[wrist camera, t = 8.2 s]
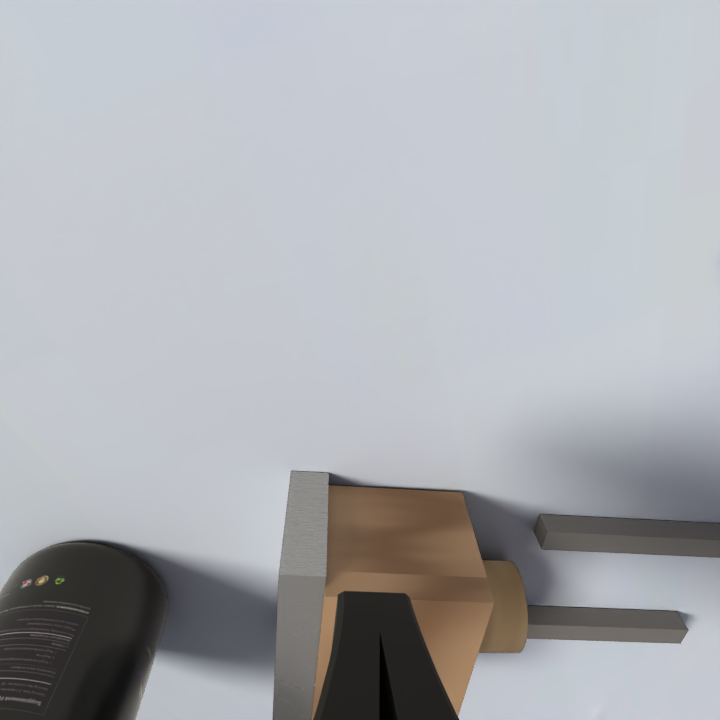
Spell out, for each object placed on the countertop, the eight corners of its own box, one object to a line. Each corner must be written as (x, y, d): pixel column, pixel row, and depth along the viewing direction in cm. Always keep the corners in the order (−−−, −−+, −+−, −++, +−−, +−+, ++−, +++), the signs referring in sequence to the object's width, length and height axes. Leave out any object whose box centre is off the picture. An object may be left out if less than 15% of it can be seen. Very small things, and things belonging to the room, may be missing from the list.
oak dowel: (512, 544, 24) (535, 627, 21) (494, 587, 26) (512, 668, 23) (351, 541, 23) (352, 625, 21) (347, 585, 26) (347, 667, 23)
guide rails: (726, 523, 24) (741, 541, 23) (669, 624, 27) (680, 643, 26) (540, 514, 23) (547, 532, 22) (504, 618, 26) (509, 637, 26)
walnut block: (462, 492, 22) (494, 603, 18) (427, 633, 27) (446, 752, 22) (328, 485, 22) (324, 596, 17) (314, 629, 26) (309, 750, 22)
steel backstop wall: (328, 473, 22) (326, 576, 17) (313, 633, 27) (309, 747, 22) (291, 471, 22) (278, 574, 17) (282, 632, 26) (271, 746, 22)
